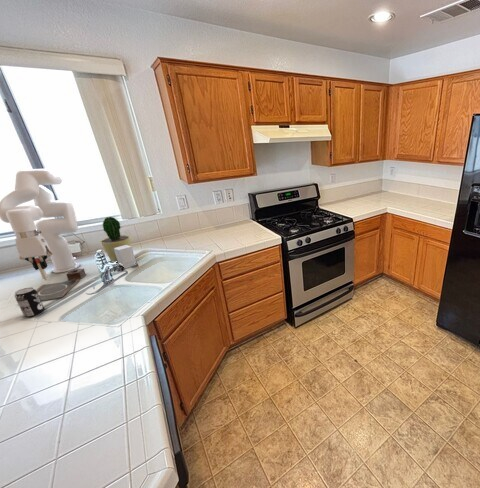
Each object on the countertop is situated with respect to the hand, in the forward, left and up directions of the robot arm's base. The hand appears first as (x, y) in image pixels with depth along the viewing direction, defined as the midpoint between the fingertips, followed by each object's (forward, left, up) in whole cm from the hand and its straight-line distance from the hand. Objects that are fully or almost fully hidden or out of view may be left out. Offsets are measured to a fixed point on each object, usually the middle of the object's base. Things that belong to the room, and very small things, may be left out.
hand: (41, 268), depth 134 cm
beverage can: (+23, +4, -13) cm, 27 cm away
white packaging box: (-22, +29, -13) cm, 39 cm away
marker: (0, 0, -7) cm, 7 cm away
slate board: (+1, +1, -13) cm, 13 cm away
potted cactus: (-35, +22, -13) cm, 43 cm away
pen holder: (-14, +6, -13) cm, 20 cm away
